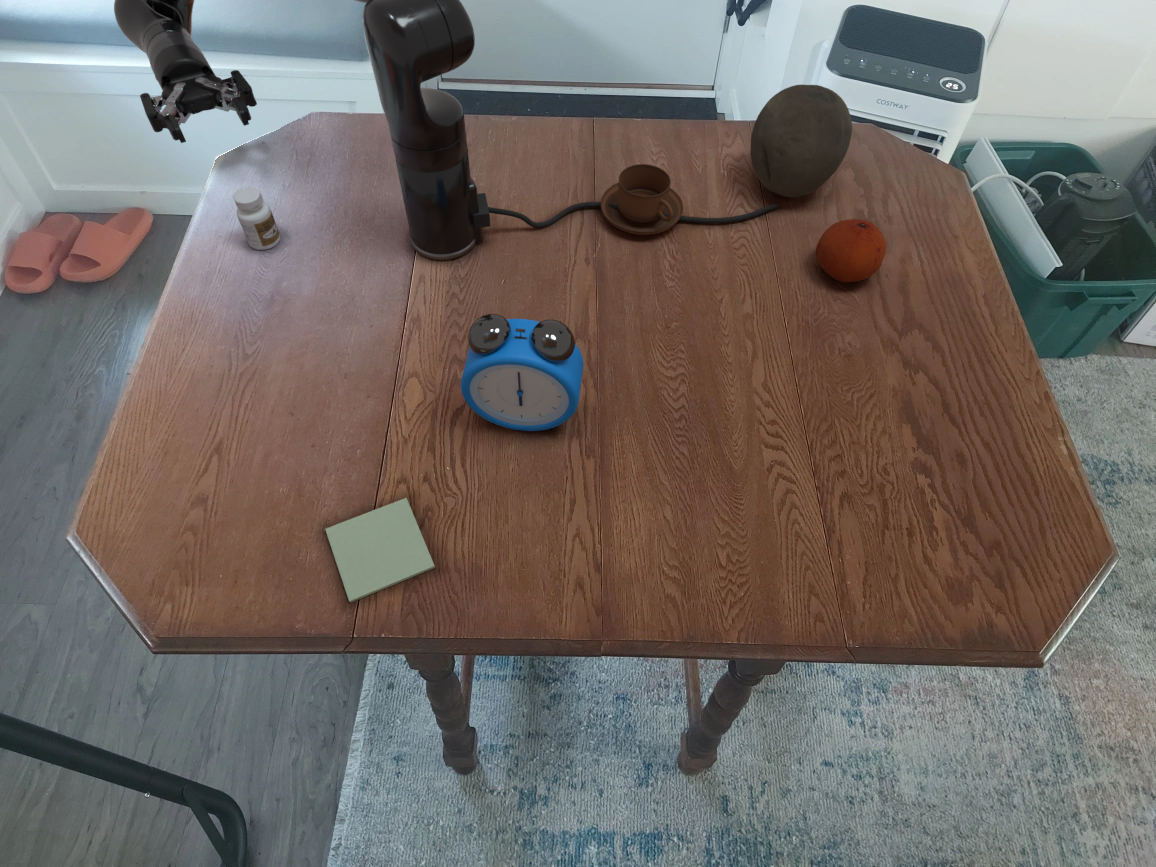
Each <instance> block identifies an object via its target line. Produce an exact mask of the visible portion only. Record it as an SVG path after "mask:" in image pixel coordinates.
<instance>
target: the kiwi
mask: <svg viewBox="0 0 1156 867" xmlns="http://www.w3.org/2000/svg"><path fill="white" fill-rule="evenodd" d="M852 134H853V120H852V115H851V113H850V110H849V107H848V106H847V104H846V102H845V100H844V99H843V98H842V96H840V95H839V94H838V93H836V92H835V91H834V90H832V89H831V88H829V87H825V86H822V85H818V84H795V85H791V86H789V87H785V88H783V89H781V90H780V91H778V92H777V93H775V94H774V95H772V96H771V98H770V99H769V100H768V101H767V102H766V103H765V105H763V107H762V109H761V110H760V112H759V114H758V115H757V116H756V120H755V121H754V124H753V128H752V132H751V136H750V152H749V153H750V161H751V165H752V169H753V171H754V174H755V175H756V177H757V179H758V180H759V181H760V183H761V184H762V185H763V187H765V188H766V190H769V191H770V192H772V193H774V194H777V195H779V196H782V197H787V198H792V199H793V198H801V197H804V196H807V195H808V194H811V193H812V192H814V191H816V190H817V189H819V188H821V187H822V186H823V185H824V184H826V182H827V181H829V179H831V177H832V176H833V175H834V174H835V173H836V172H837V170H838V169H839V168H840V166H841V165H842V162H843V161H844V159H845V157H846V155H847V152H848V150H849V147H850V143H851V140H852V136H853V135H852Z"/></svg>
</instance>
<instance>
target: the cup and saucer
mask: <svg viewBox="0 0 1156 867" xmlns="http://www.w3.org/2000/svg"><path fill="white" fill-rule="evenodd" d="M618 175H619V176H618V182H617V183H614V184H613V185H611V186H609V187H608V188H607V189H606V190H605V191H604V193H603V194H602V196H601V199H600V202H601V208H600V209H601V213H602V215H603V216H604V218H605V219H606V221H607V222H608V223H609V224H611V225H612V226H614V227H615V228H617V229H619V230H620V231H623V232H625V233H628V234H633V235H637V236H649V235H656V234H660V233H663V232H665V231H668V230H670V229H671V228H673V227H674V226H675V225H676V224H678V222H680V221H679V219H680V217H681V216H683V212H684V204H683V200H682V199H681V197H680V195H679V194H678V193H677V192H676V191H675V190H674V189H673V188H671V182H672V181H671V177H670V175H669V174H668V173H667V171H665V169H663V168H661V167H659V166H657V165H652V164H646V163H638V164H633V165H629V166H628V167H626V168H624V169H623V170H622V171H621V172H620V173H619V174H618ZM608 204H615V205H617V206H618V209H619V210H620V211H619V210H616V209H614V208H611V207H610V206H608ZM664 213H665V214H669V216H668V217H666V216H664V215H663V214H664ZM673 215H675V217H673ZM659 217H661V218H659ZM672 217H673V218H672Z"/></svg>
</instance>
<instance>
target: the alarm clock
mask: <svg viewBox="0 0 1156 867" xmlns="http://www.w3.org/2000/svg"><path fill="white" fill-rule="evenodd" d="M467 343H468V347H469V348H468V351H467V356H466V359H465V363H464V368H463V372H462V375H461V378H460V393H461V394H462V397H463V399H464V401H465V402H466V404H467V405H468V407H469V408H470V409H471V410H472V411H473V412H474V413H476V414H477V415H478V416H480V417H481V418H483V419H484V420H486V421H488V422H490V423H491V424H492V425H497V426H498V427H502V428H506V429H509V430H515V431H522V432H538V431H546V430H549V431H552V430H553V428H557V427H559V426H561V425H563V424H565V423H566V422H567V421H568V420H570V419H571V418H572V417H573V416H574V414H575V413H576V411H577V409H578V407H579V403H580V402H579V400H580V394H581V388H582V387H581V386H582V381H583V380H582V379H583V372H584V359H583V355H582V352H581V350H580V349H579V347H578V345H577V344H576V340H575V335H574V334H573V332H572V331H571V329H570V327H568V326H567V325H566V324H565V323H563V322H562V321H560V320H558V319H557V320H556V319H550V318H549V319H544V320H541V321H537V320H533V319H527V318H507V319H506V318H505V317H504V316H503V315H501V314H497V313H488V314H484V315H481V316H480V317H478V318H476V320H475V321H474V322H473V323H472V324H471V326H470V327H469V329H468V332H467Z"/></svg>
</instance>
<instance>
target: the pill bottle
mask: <svg viewBox="0 0 1156 867" xmlns="http://www.w3.org/2000/svg"><path fill="white" fill-rule="evenodd" d="M232 198H233V201H234V204H235V206H236V208H237V209H236V217H237V220H238V222H239V225H240V227H241V229H242V232H243V233H244V235H245V238H246V240H247V243H248V245H249V247H251V248H253V249H255V250H257V251H258V250H259V251H265V250H270V249H272V248H274V247H276V246H277V245H278V244H279V242H280V240H281V234H280V231H279V228H278V226H277V222H276V220H275V217H274V215H273V211H272V209H271V207H270V205H269V204H268V203H267V202H266V201H265V200H264V199H263V196H262V194H261V191H260V190H259V189H258V188H256V187H254V186H244V187H241V188H239V189H238V190H236V191H235V192H234V194H233V197H232Z"/></svg>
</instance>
